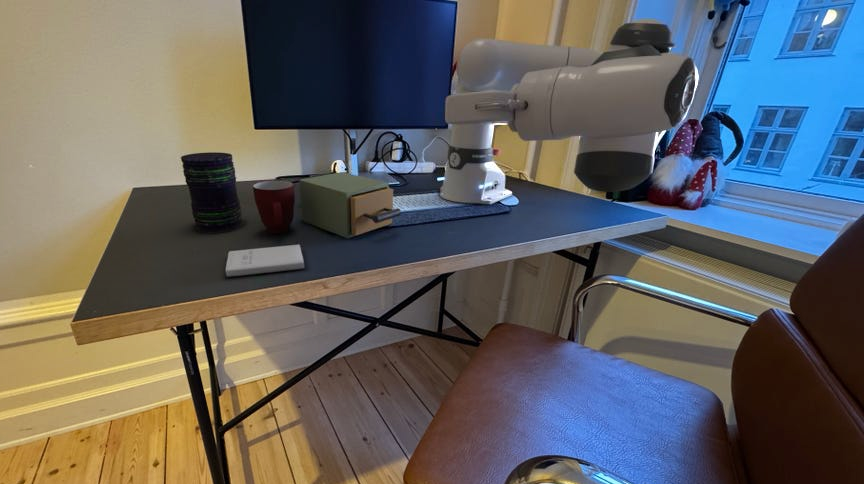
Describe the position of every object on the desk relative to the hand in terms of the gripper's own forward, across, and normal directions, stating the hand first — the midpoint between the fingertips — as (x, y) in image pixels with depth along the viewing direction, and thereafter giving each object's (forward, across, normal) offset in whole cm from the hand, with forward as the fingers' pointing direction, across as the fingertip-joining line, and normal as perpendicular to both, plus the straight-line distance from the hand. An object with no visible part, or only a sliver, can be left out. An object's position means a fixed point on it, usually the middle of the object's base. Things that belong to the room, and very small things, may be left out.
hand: (451, 114), depth 59 cm
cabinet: (+29, +1, -21) cm, 36 cm away
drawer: (+24, +1, -21) cm, 32 cm away
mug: (+34, -13, -21) cm, 42 cm away
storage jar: (+47, -19, -20) cm, 55 cm away
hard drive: (+23, -23, -23) cm, 40 cm away
